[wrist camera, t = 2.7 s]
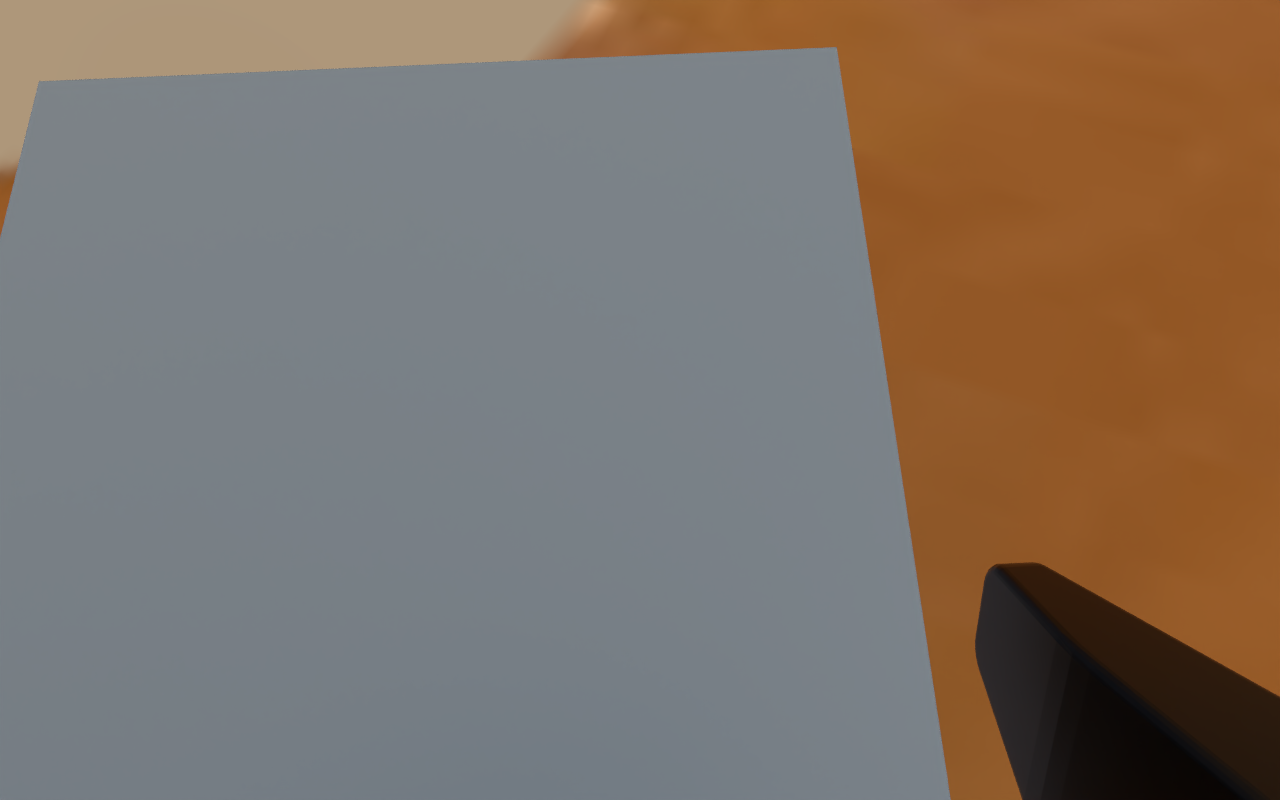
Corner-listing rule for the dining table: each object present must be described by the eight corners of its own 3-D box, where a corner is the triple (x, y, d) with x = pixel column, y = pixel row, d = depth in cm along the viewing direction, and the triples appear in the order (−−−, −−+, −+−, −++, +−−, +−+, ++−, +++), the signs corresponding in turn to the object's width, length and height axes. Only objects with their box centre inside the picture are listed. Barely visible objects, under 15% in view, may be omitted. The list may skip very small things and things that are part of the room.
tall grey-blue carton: (755, 807, 15) (977, 979, 5) (384, 823, 15) (-196, 1029, 5) (727, 452, 17) (836, 47, 7) (403, 465, 17) (38, 81, 7)
